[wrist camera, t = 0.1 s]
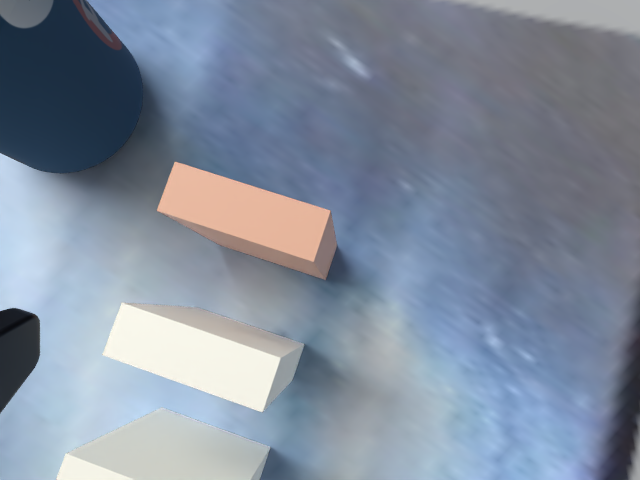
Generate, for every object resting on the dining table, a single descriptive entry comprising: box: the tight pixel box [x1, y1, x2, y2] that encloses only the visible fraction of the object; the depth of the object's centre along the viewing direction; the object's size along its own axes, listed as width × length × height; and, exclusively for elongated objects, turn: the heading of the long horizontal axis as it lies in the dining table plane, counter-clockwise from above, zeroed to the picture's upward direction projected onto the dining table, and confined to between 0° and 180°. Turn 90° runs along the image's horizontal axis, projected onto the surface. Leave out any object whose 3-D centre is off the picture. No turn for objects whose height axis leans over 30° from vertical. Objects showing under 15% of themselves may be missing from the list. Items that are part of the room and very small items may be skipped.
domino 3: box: [56, 407, 270, 480], centre depth 19 cm, size 2×5×8 cm, turn 71°
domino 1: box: [157, 162, 337, 280], centre depth 20 cm, size 2×5×8 cm, turn 71°
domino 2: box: [102, 303, 305, 412], centre depth 20 cm, size 2×5×8 cm, turn 71°
